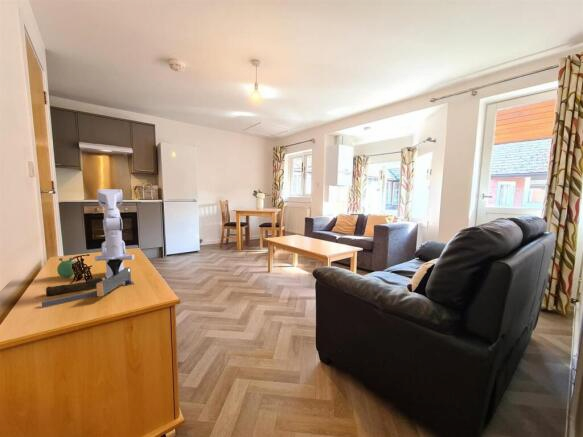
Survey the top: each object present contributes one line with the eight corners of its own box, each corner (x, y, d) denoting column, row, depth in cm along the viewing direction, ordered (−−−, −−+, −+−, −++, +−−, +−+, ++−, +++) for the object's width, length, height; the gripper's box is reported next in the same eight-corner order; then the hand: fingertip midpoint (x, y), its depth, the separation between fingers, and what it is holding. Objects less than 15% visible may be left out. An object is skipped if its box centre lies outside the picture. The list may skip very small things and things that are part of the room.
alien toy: (80, 273, 126) (79, 255, 125) (72, 278, 118) (70, 258, 117) (63, 275, 123) (62, 256, 123) (54, 280, 116) (52, 260, 115)
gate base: (122, 283, 112) (122, 283, 112) (132, 281, 115) (132, 281, 115) (123, 286, 109) (123, 285, 109) (134, 284, 112) (134, 283, 112)
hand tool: (45, 298, 97) (44, 287, 96) (48, 294, 100) (47, 283, 100) (104, 289, 106) (103, 279, 106) (105, 286, 110) (105, 276, 109)
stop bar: (42, 306, 89) (41, 301, 89) (109, 291, 103) (109, 287, 103) (42, 307, 88) (41, 302, 88) (110, 292, 102) (109, 288, 101)
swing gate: (126, 282, 113) (125, 267, 112) (132, 282, 113) (131, 267, 112) (96, 301, 92) (95, 283, 92) (103, 301, 93) (102, 283, 92)
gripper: (89, 248, 98) (91, 280, 100) (128, 247, 101) (129, 278, 102) (99, 244, 105) (101, 274, 107) (135, 243, 108) (137, 273, 109)
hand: (116, 276), depth 105 cm, fingers closed, pressing on swing gate
